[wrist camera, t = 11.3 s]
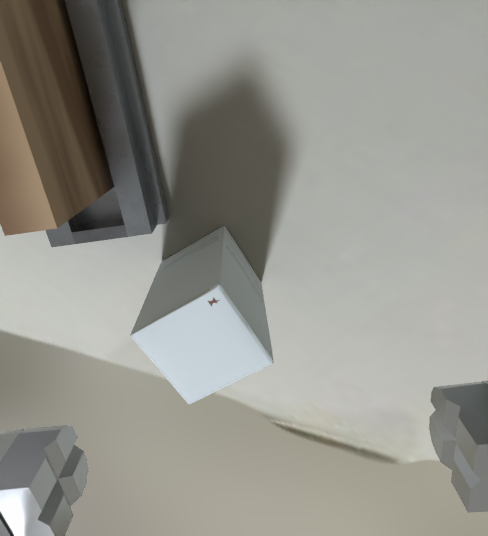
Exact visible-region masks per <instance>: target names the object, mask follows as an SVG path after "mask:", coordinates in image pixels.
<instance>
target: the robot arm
mask: <svg viewBox="0 0 488 536" xmlns="http://www.w3.org/2000/svg"><path fill="white" fill-rule="evenodd" d="M431 402H432V404H433V406H434V408H435V409H436V410H435V412H434V413H433V414H432V415H431V416H430V424H429V429H430V434H431V440H432V443H433V446H434V449H435V451H436V453H437V455H438V457H439V459H440V461H441V463H443V464H444V465H446V466H447V467H448V468H450V469H451V470H452V478H451V482H452V484H453V486H454V487H455V489H456V491H457V493H458V495H459V497H460V499H461V501H462V503H463V504H464V506H465V508H466V510H467V512H484V511H488V381H482V382H474V383H465V384H457V385H448V386H439V387H434V388H433V390H432V393H431ZM77 438H78V437H77V435H76V433H75V431H74V429H73V427H72V426H67V425H66V426H53V427H40V428H27V429H21V430H7V431H5V432H3V433H1V434H0V536H65V534H66V532H67V529H68V527H69V524H70V522H71V520H72V517H73V513H72V509H71V505H72V504H73V503H74V502H75V501H76V500H77V499H78V498H79V497H80V496H82V493H83V490H84V488H85V485H86V482H87V474H88V465H87V458H86V456H85V453H84V451H83V450H81V449H80V448H78V447H77V446H75V445H74V444H75V442H76V440H77Z"/></svg>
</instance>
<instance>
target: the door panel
mask: <svg viewBox="0 0 488 536" xmlns="http://www.w3.org/2000/svg"><path fill="white" fill-rule="evenodd" d="M112 188H114V183H113V179H112V176H111V172H110V168H109V164H108V161H107V157H106V153H105V149H104V146H103V142H102V138H101V134H100V131H99V127H98V123H97V119H96V116H95V112H94V108H93V104H92V101H91V97H90V93H89V89H88V86H87V82H86V78H85V74H84V71H83V67H82V63H81V59H80V56H79V52H78V48H77V44H76V40H75V37H74V33H73V29H72V25H71V22H70V18H69V14H68V10H67V7H66V3H65V0H0V224H1V226H2V229H3V231H4V234H5V236H6V235H13V234H20V233H27V232H35V231H42V230H49V229H56V228H58V227H60V226H61V225H63V224H64V223H65V222H67V221H68V220H69V219H71V218H72V217H74V216H75V215H76V214H78V213H79V212H81V211H82V210H83V209H85V208H86V207H87V206H89V205H90V204H92V203H93V202H94V201H96V200H97V199H98V198H100V197H101V196H103V195H104V194H105V193H107V192H108V191H110V190H111V189H112Z"/></svg>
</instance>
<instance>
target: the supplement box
mask: <svg viewBox="0 0 488 536" xmlns="http://www.w3.org/2000/svg"><path fill="white" fill-rule="evenodd" d="M131 337H132V338H133V340H134V341H135V342H136V343H137V344H138V345H139V347H140V348H141V349H142V350H143V351H144V352H145V354H146V355H147V356H148V357H149V358H150V359H151V361H152V362H153V363H154V364H155V365H156V366H157V368H158V369H159V370H160V371H161V372H162V374H163V375H164V376H165V377H166V378H167V379H168V381H169V382H170V383H171V384H172V385H173V386H174V387H175V389H176V390H177V391H178V392H179V394H180V395H181V396H182V397H183V398H184V399H185V401H186V402H187V403H188V404H191V403H193V402H195V401H197V400H199V399H201V398H204V397H206V396H207V395H209V394H212V393H214V392H216V391H218V390H220V389H222V388H224V387H226V386H228V385H230V384H232V383H234V382H235V381H237V380H240V379H242V378H244V377H246V376H248V375H250V374H253V373H255V372H257V371H259V370H261V369H263V368H265V367H267V366H270V365H272V364H273V355H272V348H271V341H270V335H269V328H268V322H267V316H266V310H265V304H264V298H263V290H262V284H261V282H260V280H259V278H258V277H257V275H256V273H255V272H254V270H253V269H252V267H251V266H250V264H249V263H248V261H247V259H246V258H245V256H244V255H243V253H242V252H241V250H240V249H239V247H238V246H237V244H236V243H235V241H234V239H233V238H232V236H231V235H230V233H229V232H228V230H227V229H226V227H225V226H222V227H220V228H219V229H217V230H215V231H214V232H212V233H210V234H208V235H207V236H205V237H203V238H202V239H200V240H198V241H196V242H195V243H193V244H191V245H189V246H188V247H186V248H184V249H183V250H181V251H179V252H178V253H176V254H174V255H172V256H171V257H169V258H167V259H166V260H164V261H162V262H161V264H160V266H159V269H158V271H157V273H156V276H155V278H154V281H153V283H152V285H151V288H150V290H149V292H148V295H147V297H146V299H145V302H144V304H143V306H142V309H141V311H140V314H139V316H138V318H137V321H136V323H135V326H134V328H133V330H132V333H131Z"/></svg>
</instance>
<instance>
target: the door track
mask: <svg viewBox="0 0 488 536" xmlns="http://www.w3.org/2000/svg"><path fill="white" fill-rule="evenodd" d="M65 3H66V7H67V10H68V14H69V18H70V22H71V25H72V29H73V33H74V37H75V40H76V44H77V48H78V52H79V56H80V59H81V63H82V67H83V71H84V74H85V78H86V82H87V86H88V89H89V93H90V97H91V101H92V104H93V108H94V112H95V116H96V119H97V123H98V127H99V131H100V134H101V138H102V142H103V146H104V149H105V153H106V157H107V161H108V164H109V168H110V172H111V176H112V179H113V183H114V188H112V189H111V190H110V191H108V192H107V193H105V194H104V195H103V196H101V197H100V198H98V199H97V200H96V201H94V202H93V203H92V204H90V205H89V206H87V207H86V208H85V209H83V210H82V211H81V212H79V213H78V214H76V215H75V216H74V217H72V218H71V219H69V220H68V221H67V222H65V223H64V224H63V225H61V226H60V227H58V228H56V229H49V230H46V233H47V236H48V238H49V241H50V244H51V247H57V246H64V245H71V244H79V243H86V242H93V241H100V240H108V239H115V238H122V237H129V236H137V235H144V234H151V233H152V232H153V231H154V229H155V227H156V226H157V224H165V223H167V221H168V219H169V217H168V212H167V208H166V203H165V199H164V194H163V189H162V185H161V180H160V176H159V171H158V167H157V162H156V157H155V153H154V148H153V144H152V139H151V134H150V130H149V125H148V121H147V116H146V112H145V107H144V102H143V98H142V93H141V89H140V84H139V80H138V75H137V70H136V66H135V61H134V57H133V52H132V47H131V43H130V38H129V34H128V29H127V25H126V20H125V15H124V11H123V6H122V2H121V0H65Z"/></svg>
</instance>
